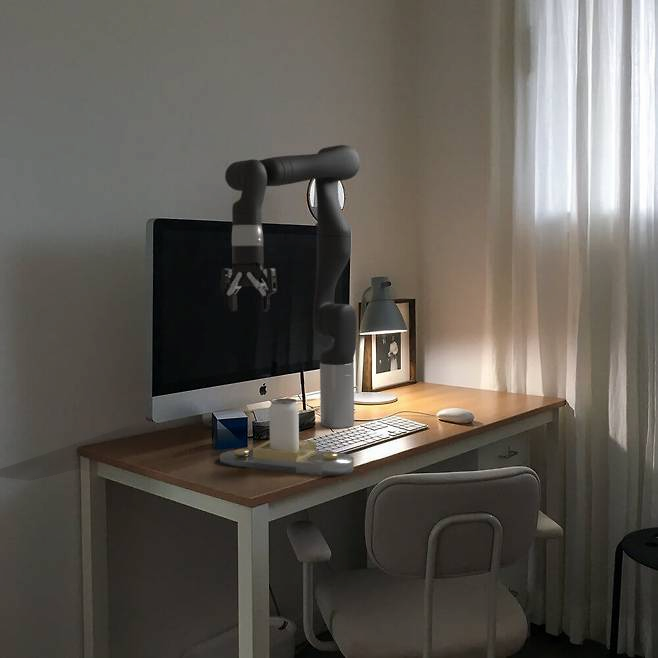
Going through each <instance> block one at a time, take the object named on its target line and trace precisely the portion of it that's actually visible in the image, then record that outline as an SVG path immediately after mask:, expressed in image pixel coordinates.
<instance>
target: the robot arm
mask: <svg viewBox="0 0 658 658" xmlns="http://www.w3.org/2000/svg"><path fill="white" fill-rule="evenodd" d="M360 166H361V159H360V156H359V153H358V152H357V150H356V149H355V148H354V147H352V146H351V145H346V144H340V145H333V146H326V147H323V148H321V149H319V150H318V152H317V153H313V154H312V153H311V154H295V155H293V154H292V155H282V156H281V155H280V156H273V157H268V158H263V159H259V160H258V159H255V158H254V159H247V160H240V161H235V162H233V163H230V164H229V166H228V167H227V169H226V171H225V174H224V180H225V182H226V184H227V185H228V186H229V188H231V189H232V190H234V191H239V192H241V195H240V198H239V199H238V200H237V201H235V202H234V203H233V204H232V206H231V207H232V210H231V211H232V212H231V213H232V215H231V217H232V220H231V221H232V230H231V251H232V252H231V254H232V255H231V258H232V265H233V266H232V268H231V269H230V268H227V267H226V268H222V269H221V270H220V275H221V276H220V293H221V294H225V295H227V297H228V308H229V309H230V312H238V295H237V293H238V292H239V290H240V289H241V288H242V287H254V288H255V289H257V290H258V291H259V292H260V294H261V296H260V302H261V303H260V304H261V305H260V307H261V312H264V313H265V312H269V311H268V310H270V308H271V299H270V297H271V296H272V294H276V293H277V292H278V285H277V283H278V282H277V273H276V272H277V271H276V268H275V267H272V268H271V267H270V268H264V261H265V259H264V234H263V224H262V223H263V222H262V220H263V219H262V206H263V203H264V199H265V195H266V189H267V187H279V186H286V185H291V184H296V183H302V182H305V181H310V180H315V181H314V182H315V191H316V211H317V212H316V218H317V219H316V221H317V222H316V223H317V224H316V225H317V226H316V278H315V279H316V280H315V281H316V282H315V290H314V291H315V292H314V303H313V309H312V310H313V311H312V313H313V314H312V324H313V328H314V329H313V330H314V331H315V333H316V334H317V335H318V336H319V337H322V338H333V345H332V346H331V347H330V348H328V349H326V350H323V351H321V352H320V354H319V383H320V384H319V385H320V386H319V388H320V389H319V391H320V397H319V398H320V399H319V400H320V425H321V426H322V427H325V428H331V429H332V428H333V429H340V428H341V429H342V428H349V427H352V426H355V377H354V376H355V373H354V372H355V371H354V370H355V368H354V367H355V366H354V365H355V363H354V361H355V354H356V349H357V331H358V330H357V326H358V324H357V323H358V322H357V313H356V311H355V308H354V307H353V306H352V305H351V304H348V303H347V304H346V303H335V291H336V286H337V283H338V280H339V279H340V276H341V275H342V274H343V271H344V270H345V267H346V266H347V264H348V262H349V261H350V257H351V251H352V250H351V248H352V232H351V227H350V224H349V222H348V218H347V217H346V215H345V213H344V212H343V209H342V206H341V204H340V199H339V182H341V181H347V180H350V179H352V178H354V177H355V176H356V175H357V174H358V172H359V170H360V168H361V167H360ZM232 276H233V277H234V279H233V281H232V282H231V277H232ZM264 276H265V277H266V280H267V283H266V282H265V281H264V279H263V277H264Z"/></svg>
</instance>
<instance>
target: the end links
mask: <svg viewBox="0 0 658 658" xmlns="http://www.w3.org/2000/svg"><path fill="white" fill-rule="evenodd" d="M354 459H355V458H354V456H352V455H350V454H348V453H343V452H334V451H325V450H324V451H322V450H317V441H311V440H303V439H301V440H300V439H299V449H298V450H296V451H283V450H273V449H270V439H269V440H268V441H265V442H263V443H261V444H260V445H257V446H256V447H253V448H252V449H249V448H238V449H232V450H228V451H225V452H224V451H223V452H222V453H221V454H220V455H219V461H220V463H221V464H222V465H226V466H230V467H231V466H232V467H240V468H250V469H258V470H270V471H277V472H278V471H279V472H288V473H296V474H303V475H307V474H308V475H314V476H324V477H334V476H344V475H348V474H350V473H352V472H353V471H354V469H355V464H354V461H355V460H354Z"/></svg>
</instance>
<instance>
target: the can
mask: <svg viewBox="0 0 658 658" xmlns="http://www.w3.org/2000/svg"><path fill="white" fill-rule="evenodd" d="M270 403H271V404H270V406H269V415H268V416H269V420H268V421H269V440H270V449H273V450H283V451H296V450H298V449H299V440H300V439H299V437H300V428H299V427H300V426H299V418H300V417H299V405H298V404H297V400H296V399H294V398H275V399H272V400H271V401H270Z"/></svg>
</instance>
